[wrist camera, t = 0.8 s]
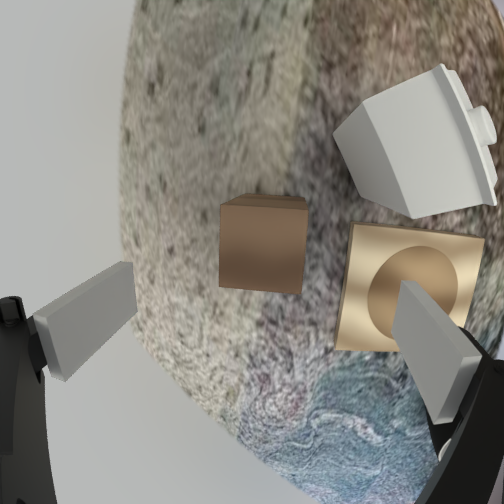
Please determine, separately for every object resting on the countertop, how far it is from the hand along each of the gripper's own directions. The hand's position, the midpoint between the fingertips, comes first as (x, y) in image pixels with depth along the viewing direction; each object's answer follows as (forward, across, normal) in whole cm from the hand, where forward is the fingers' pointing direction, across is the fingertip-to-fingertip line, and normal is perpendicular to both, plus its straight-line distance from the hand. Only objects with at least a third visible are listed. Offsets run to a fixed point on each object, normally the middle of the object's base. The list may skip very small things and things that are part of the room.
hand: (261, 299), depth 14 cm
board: (+19, +15, -6) cm, 25 cm away
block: (+19, -1, 0) cm, 19 cm away
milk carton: (+19, +10, +8) cm, 23 cm away
